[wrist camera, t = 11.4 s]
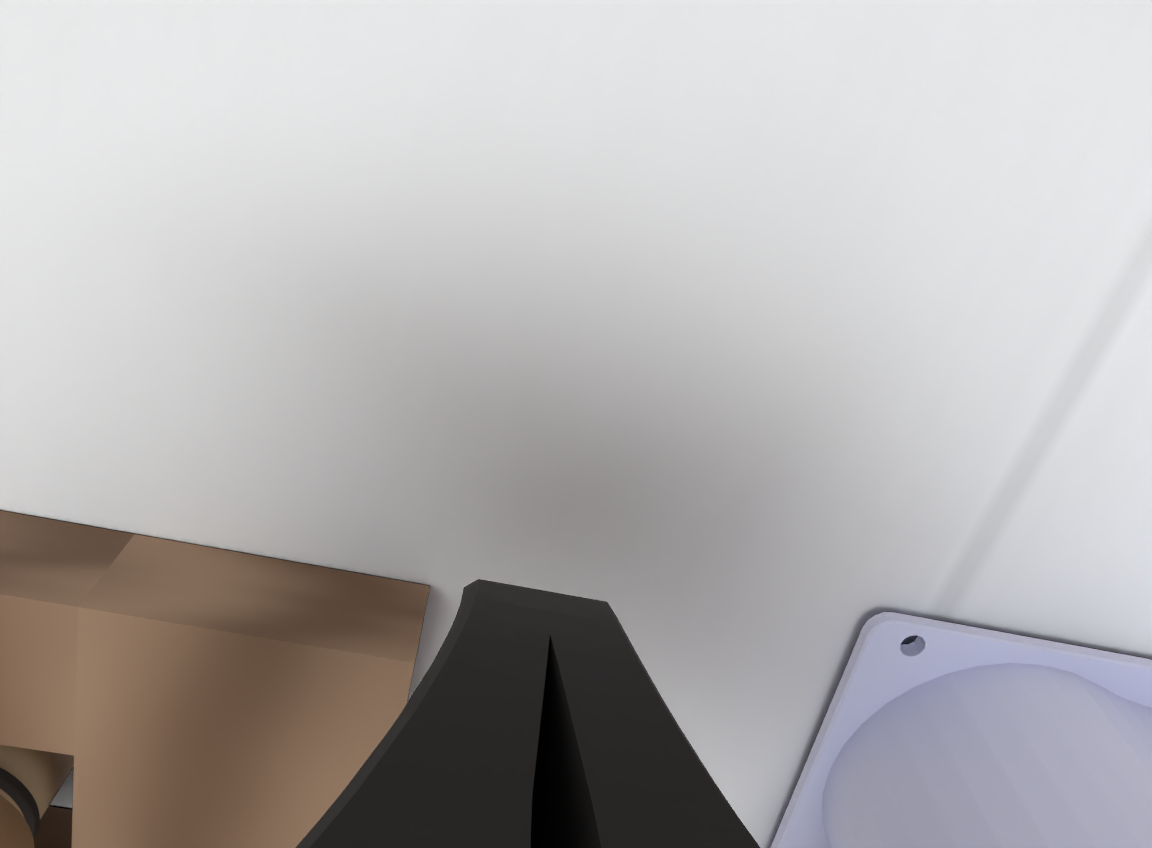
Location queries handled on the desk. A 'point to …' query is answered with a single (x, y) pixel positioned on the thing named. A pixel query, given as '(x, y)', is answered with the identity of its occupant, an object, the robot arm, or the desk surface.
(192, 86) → the desk surface
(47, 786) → the peg
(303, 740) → the board
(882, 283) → the desk surface
